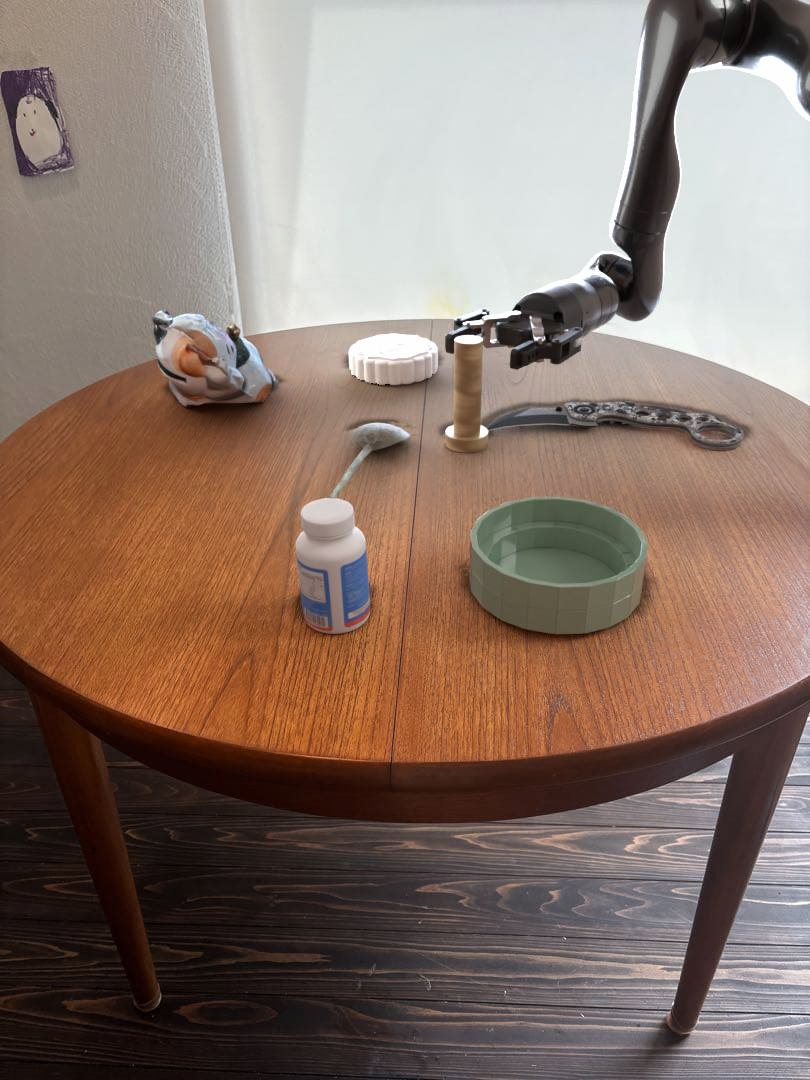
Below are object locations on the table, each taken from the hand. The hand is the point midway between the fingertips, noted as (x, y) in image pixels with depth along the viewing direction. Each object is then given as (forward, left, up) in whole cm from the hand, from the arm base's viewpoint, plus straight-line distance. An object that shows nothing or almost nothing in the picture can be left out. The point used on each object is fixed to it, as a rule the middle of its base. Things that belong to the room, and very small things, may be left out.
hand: (479, 352), depth 93 cm
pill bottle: (+14, +34, -10) cm, 38 cm away
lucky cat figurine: (+31, -13, -10) cm, 36 cm away
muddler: (+1, +2, -10) cm, 10 cm away
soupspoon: (+13, +9, -10) cm, 19 cm away
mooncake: (+9, -22, -10) cm, 26 cm away
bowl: (-4, +31, -10) cm, 32 cm away
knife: (-16, -1, -10) cm, 19 cm away
